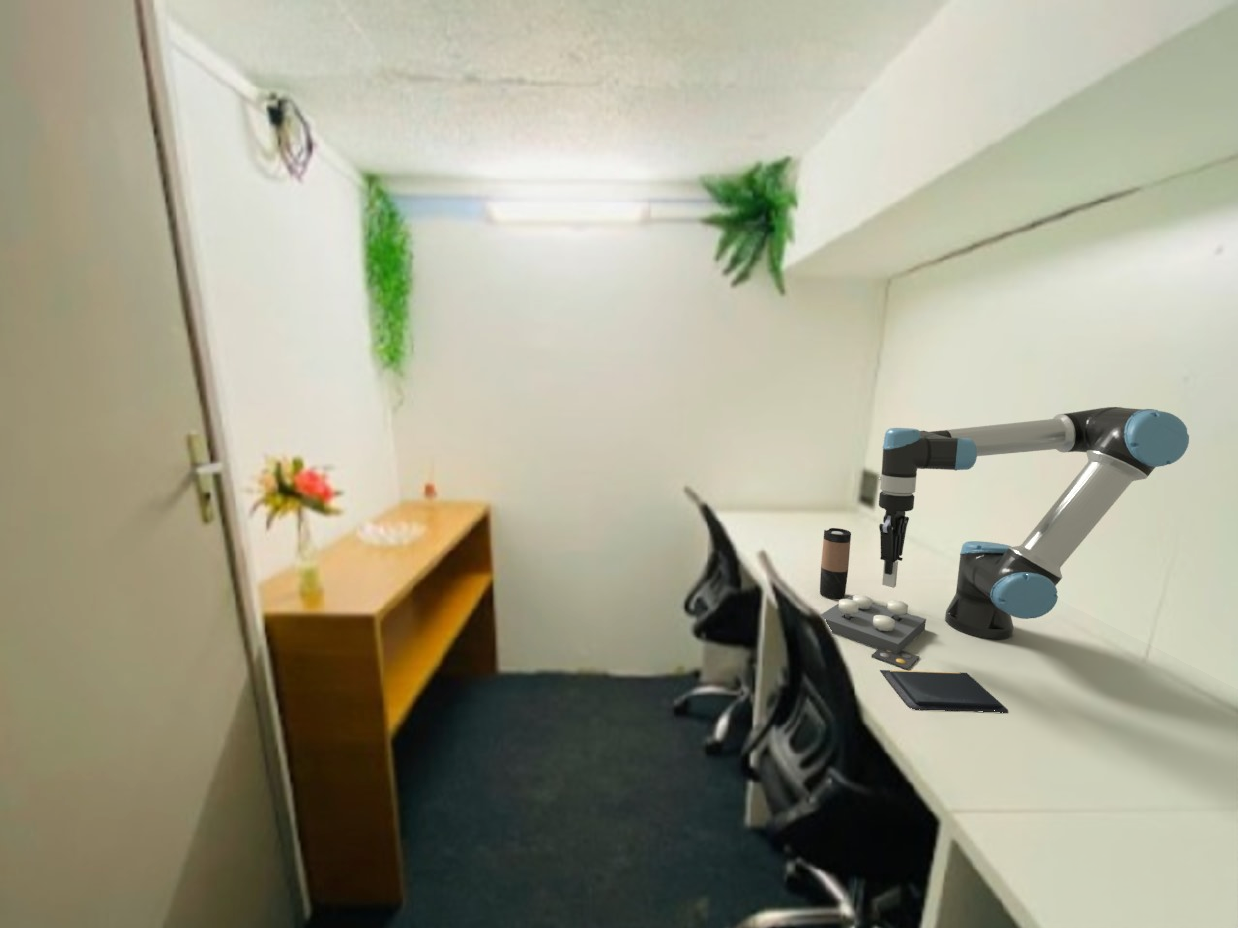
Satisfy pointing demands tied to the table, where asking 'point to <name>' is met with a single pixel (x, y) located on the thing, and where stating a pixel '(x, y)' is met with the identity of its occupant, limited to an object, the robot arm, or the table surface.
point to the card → (896, 658)
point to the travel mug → (835, 563)
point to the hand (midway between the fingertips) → (889, 585)
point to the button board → (867, 634)
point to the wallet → (941, 691)
